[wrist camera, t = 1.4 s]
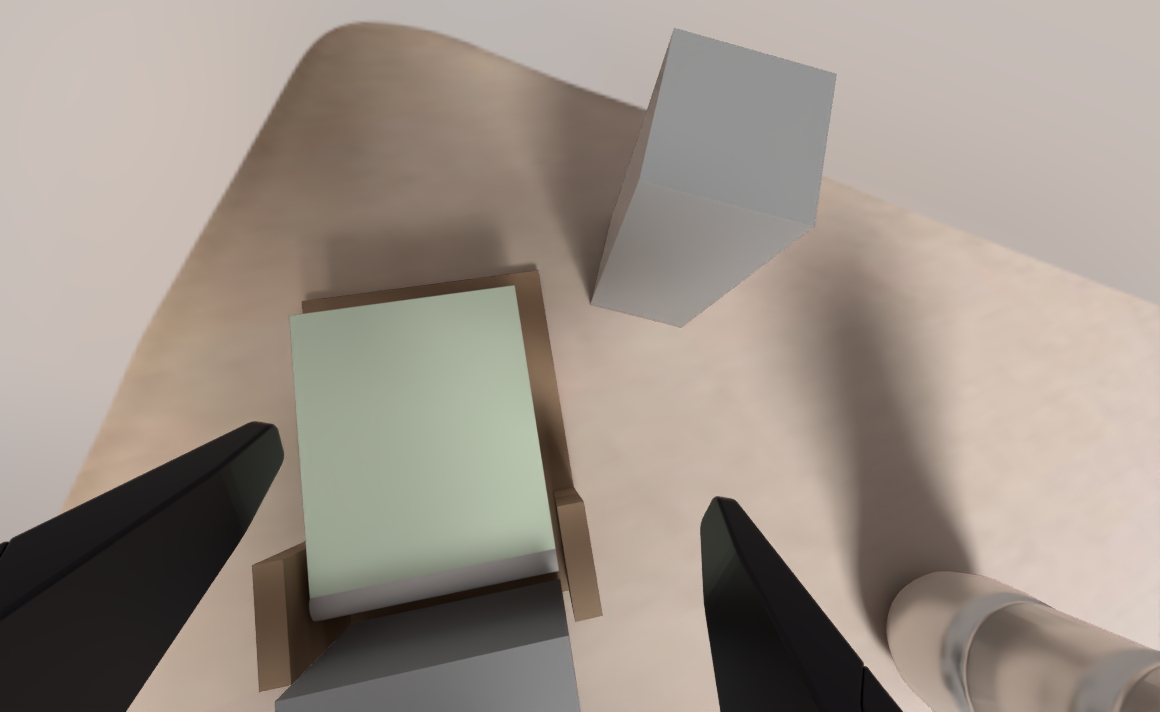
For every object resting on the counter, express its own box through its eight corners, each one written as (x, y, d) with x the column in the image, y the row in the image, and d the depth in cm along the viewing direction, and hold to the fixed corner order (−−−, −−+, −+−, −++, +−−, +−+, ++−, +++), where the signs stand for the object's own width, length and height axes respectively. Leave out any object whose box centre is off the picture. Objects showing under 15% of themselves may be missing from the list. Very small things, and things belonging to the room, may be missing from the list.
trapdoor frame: (588, 582, 22) (605, 630, 16) (333, 636, 20) (260, 708, 15) (538, 273, 24) (537, 226, 19) (306, 304, 23) (235, 263, 17)
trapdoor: (571, 650, 20) (584, 737, 14) (360, 698, 19) (281, 814, 13) (518, 308, 23) (511, 263, 17) (328, 334, 22) (250, 297, 16)
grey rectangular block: (681, 327, 24) (814, 226, 13) (590, 304, 24) (639, 179, 12) (698, 242, 25) (836, 73, 14) (610, 219, 25) (674, 27, 13)
